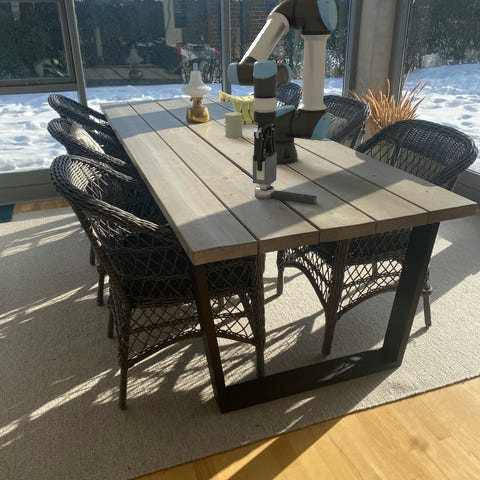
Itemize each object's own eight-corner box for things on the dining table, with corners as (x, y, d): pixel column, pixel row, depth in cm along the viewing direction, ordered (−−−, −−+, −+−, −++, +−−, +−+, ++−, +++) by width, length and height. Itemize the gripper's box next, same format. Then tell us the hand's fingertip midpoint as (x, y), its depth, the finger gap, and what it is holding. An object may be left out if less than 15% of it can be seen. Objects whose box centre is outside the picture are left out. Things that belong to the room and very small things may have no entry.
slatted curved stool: (268, 117, 301) (268, 87, 293) (274, 122, 287) (274, 91, 279) (219, 119, 297) (218, 89, 289) (223, 125, 282) (222, 93, 275)
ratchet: (259, 191, 180) (259, 174, 177) (318, 200, 171) (319, 182, 169) (251, 197, 175) (251, 180, 172) (312, 206, 166) (313, 188, 163)
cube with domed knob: (259, 177, 178) (259, 150, 173) (276, 180, 175) (276, 151, 171) (252, 183, 172) (252, 154, 168) (269, 185, 170) (269, 156, 165)
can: (241, 138, 254) (240, 114, 249) (223, 137, 256) (222, 114, 250) (243, 133, 262) (243, 111, 257) (226, 133, 264) (226, 111, 259)
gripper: (265, 104, 172) (265, 167, 182) (242, 114, 156) (243, 183, 166) (285, 105, 169) (284, 169, 179) (264, 116, 154) (263, 186, 164)
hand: (264, 176), depth 173 cm, fingers closed on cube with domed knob, 6 cm apart
